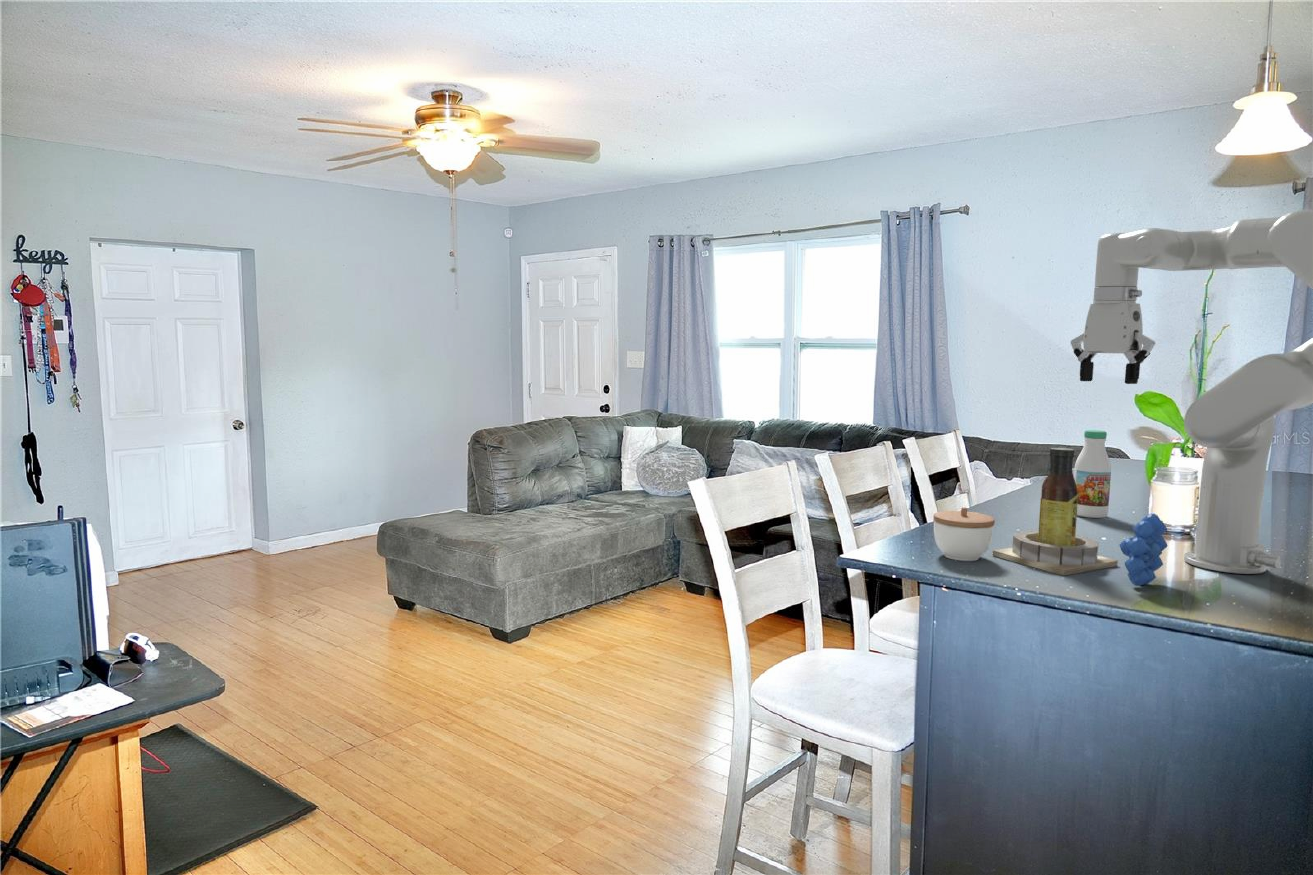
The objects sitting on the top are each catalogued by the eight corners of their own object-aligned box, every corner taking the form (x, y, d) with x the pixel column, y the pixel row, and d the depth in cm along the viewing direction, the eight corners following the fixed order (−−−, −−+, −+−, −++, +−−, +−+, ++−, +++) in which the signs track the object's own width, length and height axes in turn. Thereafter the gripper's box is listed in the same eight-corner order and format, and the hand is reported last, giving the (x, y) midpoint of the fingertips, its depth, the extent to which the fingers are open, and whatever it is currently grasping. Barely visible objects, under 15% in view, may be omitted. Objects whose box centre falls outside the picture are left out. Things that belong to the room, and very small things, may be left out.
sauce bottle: (1078, 560, 154) (1087, 451, 152) (1041, 558, 155) (1050, 450, 153) (1067, 551, 160) (1076, 447, 158) (1032, 549, 161) (1040, 445, 159)
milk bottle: (1063, 512, 203) (1069, 429, 200) (1089, 511, 205) (1095, 428, 203) (1088, 519, 195) (1095, 432, 193) (1115, 517, 198) (1122, 432, 195)
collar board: (1117, 565, 155) (1119, 544, 154) (1063, 575, 148) (1065, 553, 147) (1045, 547, 168) (1046, 527, 167) (992, 555, 161) (993, 534, 160)
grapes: (1130, 573, 150) (1136, 506, 149) (1172, 581, 145) (1178, 512, 144) (1101, 584, 143) (1107, 514, 141) (1145, 594, 138) (1151, 521, 136)
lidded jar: (961, 547, 167) (964, 500, 165) (1005, 561, 157) (1008, 511, 156) (919, 552, 162) (921, 504, 161) (961, 567, 152) (964, 515, 151)
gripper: (1169, 296, 165) (1161, 384, 167) (1087, 298, 180) (1080, 380, 182) (1145, 294, 161) (1138, 385, 163) (1063, 297, 176) (1057, 380, 178)
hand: (1108, 382), depth 172 cm, fingers open, 9 cm apart
